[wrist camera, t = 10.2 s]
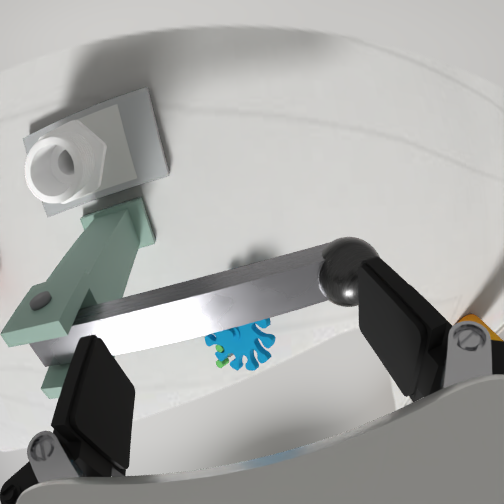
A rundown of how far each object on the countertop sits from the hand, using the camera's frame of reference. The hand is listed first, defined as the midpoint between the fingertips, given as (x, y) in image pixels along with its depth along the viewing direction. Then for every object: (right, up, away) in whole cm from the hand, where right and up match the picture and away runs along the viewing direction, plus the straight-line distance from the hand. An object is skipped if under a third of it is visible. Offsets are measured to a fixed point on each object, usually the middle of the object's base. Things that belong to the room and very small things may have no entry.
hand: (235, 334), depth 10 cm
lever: (-3, 0, +6) cm, 7 cm away
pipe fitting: (-16, +12, +15) cm, 25 cm away
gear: (-2, -5, +28) cm, 29 cm away
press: (-15, +11, +18) cm, 25 cm away
